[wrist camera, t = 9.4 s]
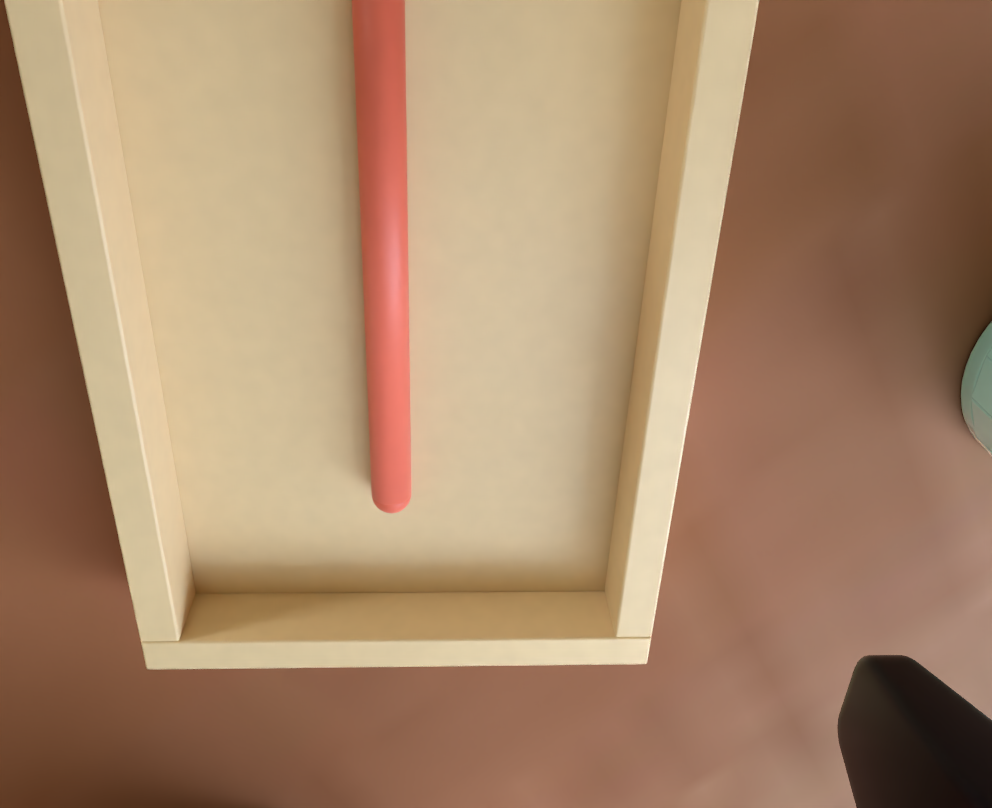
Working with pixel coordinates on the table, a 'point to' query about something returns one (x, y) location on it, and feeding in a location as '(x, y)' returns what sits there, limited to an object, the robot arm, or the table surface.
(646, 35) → the tray
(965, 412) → the cup
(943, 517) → the table surface
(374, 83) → the red thin rounded piece
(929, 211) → the table surface
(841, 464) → the table surface
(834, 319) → the table surface
